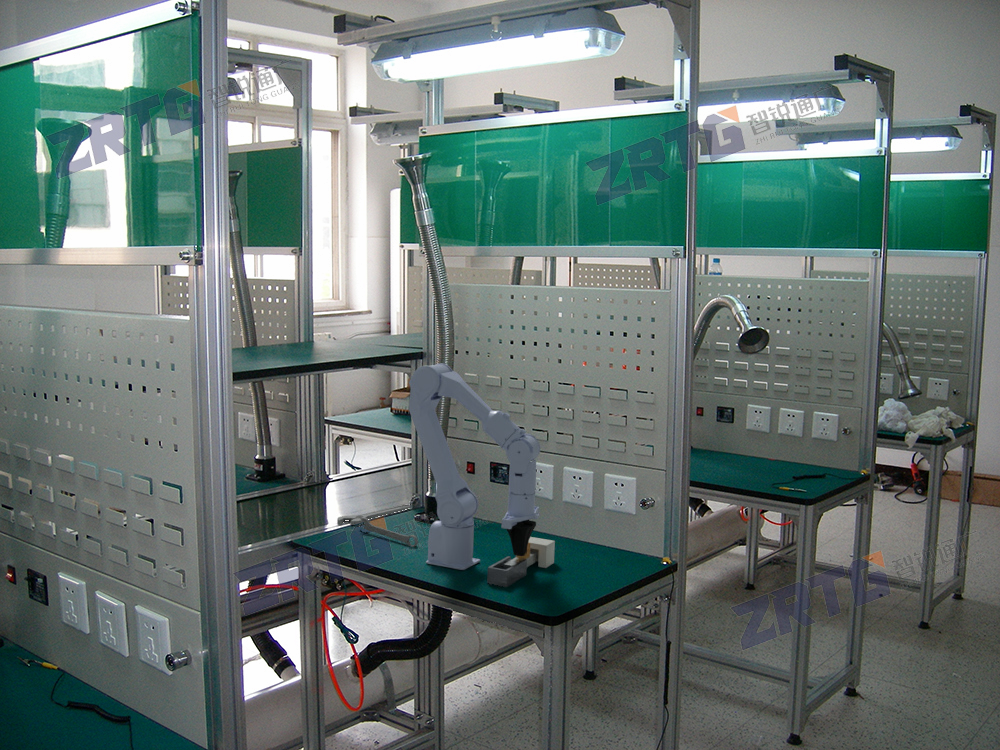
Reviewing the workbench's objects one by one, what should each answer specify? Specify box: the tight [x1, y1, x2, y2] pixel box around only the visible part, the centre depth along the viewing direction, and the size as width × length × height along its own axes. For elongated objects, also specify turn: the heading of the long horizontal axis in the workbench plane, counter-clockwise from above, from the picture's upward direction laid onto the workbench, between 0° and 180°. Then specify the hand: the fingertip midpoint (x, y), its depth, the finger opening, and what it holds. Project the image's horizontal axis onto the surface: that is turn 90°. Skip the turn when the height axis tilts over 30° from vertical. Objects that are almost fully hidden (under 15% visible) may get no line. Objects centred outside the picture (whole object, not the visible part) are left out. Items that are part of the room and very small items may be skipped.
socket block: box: [515, 536, 556, 569], centre depth 203 cm, size 7×4×5 cm, turn 64°
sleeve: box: [486, 555, 528, 588], centre depth 191 cm, size 4×10×3 cm, turn 154°
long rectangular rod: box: [503, 542, 538, 570], centre depth 196 cm, size 2×12×5 cm, turn 154°
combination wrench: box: [358, 518, 419, 548], centre depth 219 cm, size 4×1×20 cm
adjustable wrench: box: [336, 504, 411, 526], centre depth 239 cm, size 25×6×2 cm, turn 140°
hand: (519, 555), depth 196 cm, fingers closed
